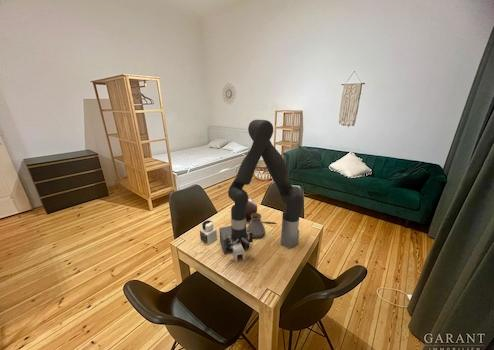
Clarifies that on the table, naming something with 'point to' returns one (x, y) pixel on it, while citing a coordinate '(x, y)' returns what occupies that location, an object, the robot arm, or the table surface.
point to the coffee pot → (257, 225)
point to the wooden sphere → (250, 208)
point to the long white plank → (238, 250)
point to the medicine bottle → (208, 232)
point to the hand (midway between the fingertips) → (239, 250)
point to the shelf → (226, 232)
